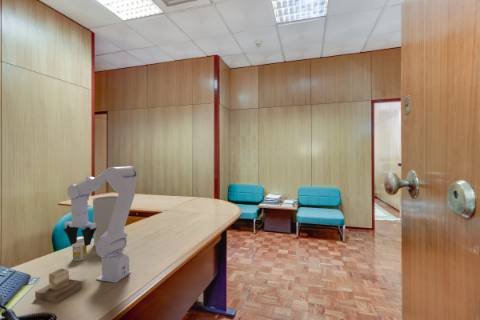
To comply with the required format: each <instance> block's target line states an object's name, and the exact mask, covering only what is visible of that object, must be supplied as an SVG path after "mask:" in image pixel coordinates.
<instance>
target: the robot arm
mask: <svg viewBox="0 0 480 320" xmlns="http://www.w3.org/2000/svg"><path fill="white" fill-rule="evenodd" d="M138 176H139V174H138V171H137V170H136V168H135V167H134V166H132V165H127V166H109V167H108V168H105V169H104V170H103V172H101V173H100V174H98V175H97V176H95V177H94V176H86V177H85V179H84V180H80V181H79V182H78V183H76V184H73V183H72V184H70V185H69V186H68V187H67V190H66V191H67V192H66V193H67V196H68V197H69V198H70V205H71V206H70V209H71V210H70V211H71V215H70V216H71V220H69V221H64V228H63V231H64V233H65V234H66V235H67V238H68V241H69V243H70V246H71V245H73V244H75V243H76V242H77V237H78V231H79V229H80V228H81V230H80V232H81V233H82V237H84V244H85V246H87V247H88V246H90V245H91V244H92V240H93V238H94V232H95V230H96V223H93V221H92V222H91V221H89V210H88V209H89V208H88V207H89V206H88V205H89V203H88V201H89V199H90V195H91V193H93V192H95V191H97V190H99V189H100V187H101V185H102V184H105V183H108V184H109V186H110V187H111V188H112V189H113V191H114V192H117V196H118V197H117V201H116V204H115V207H114V211H113V214H112V217H111V221H110V224H109V227H108V230H107V231H106V232H105V233H104V234H103V235H102V236H101V237H100V240H99V241H98V242H97V244H96V246H95V252H96V254H97V255H98V256H99V257H100V258H101V275H99V276H97V277H96V278H95V280H96V281H102V282H110V283H118V282H120V281H121V280H122V279H124V278H125V277H127V276H128V275H130V274H131V273H132V272H131V271H130V257H129V256H128V255H127V254H125V253H123V252H124V251H125V248H126V247H127V242H128V241H127V237H128V233H127V232H126V231H125V227H126V223H127V220H128V218H129V214H130V211H131V207H132V205H133V204H132V203H133V201H134V198H135V195H136V183H137V181H138V178H139V177H138Z"/></svg>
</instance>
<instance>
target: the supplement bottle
mask: <svg viewBox="0 0 480 320" xmlns="http://www.w3.org/2000/svg"><path fill="white" fill-rule="evenodd" d="M87 247H88V246H85V244H84V237H83V236H77V242H76V243H75V244H72V247H71V248H72V260H73V261H75V262H77V261H82V260H84V259H87V256H88V254H87V253H88V252H87V251H88V250H87Z"/></svg>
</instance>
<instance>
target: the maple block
mask: <svg viewBox="0 0 480 320" xmlns="http://www.w3.org/2000/svg"><path fill="white" fill-rule="evenodd" d="M69 279H70V271H69V269H65V268H59V269H57V270H54V271H52V272H49V273H48V285H49V288H51V289H53V290H56V291H57V290H59V289H61V288H63V287H65V286H67V285H69Z"/></svg>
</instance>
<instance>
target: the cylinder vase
mask: <svg viewBox="0 0 480 320" xmlns="http://www.w3.org/2000/svg"><path fill="white" fill-rule="evenodd" d="M117 197H118V195H109V196H107V195H105V196H98V197H95V198H93V199H92V216H93V218H92V219H93V221H92V223H96V230H95V232H94V234H93V246H95V247H96V244H97V242H98V241H99V240H100V237H101V236H102V235H103V234H104V233H105V232H106V231H107V230H108V227H109V224H110V221H111V217H112V214H113V211H114V207H115V204H116V201H117Z"/></svg>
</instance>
